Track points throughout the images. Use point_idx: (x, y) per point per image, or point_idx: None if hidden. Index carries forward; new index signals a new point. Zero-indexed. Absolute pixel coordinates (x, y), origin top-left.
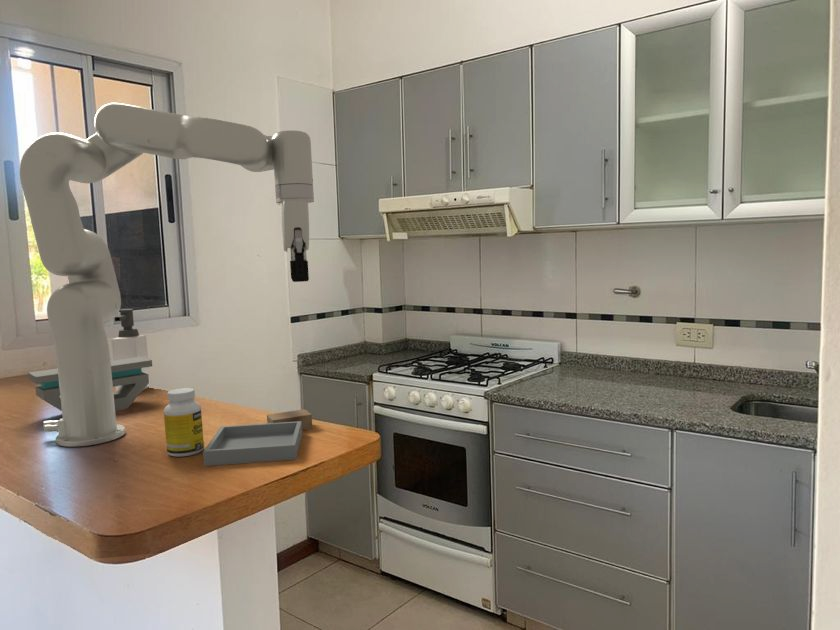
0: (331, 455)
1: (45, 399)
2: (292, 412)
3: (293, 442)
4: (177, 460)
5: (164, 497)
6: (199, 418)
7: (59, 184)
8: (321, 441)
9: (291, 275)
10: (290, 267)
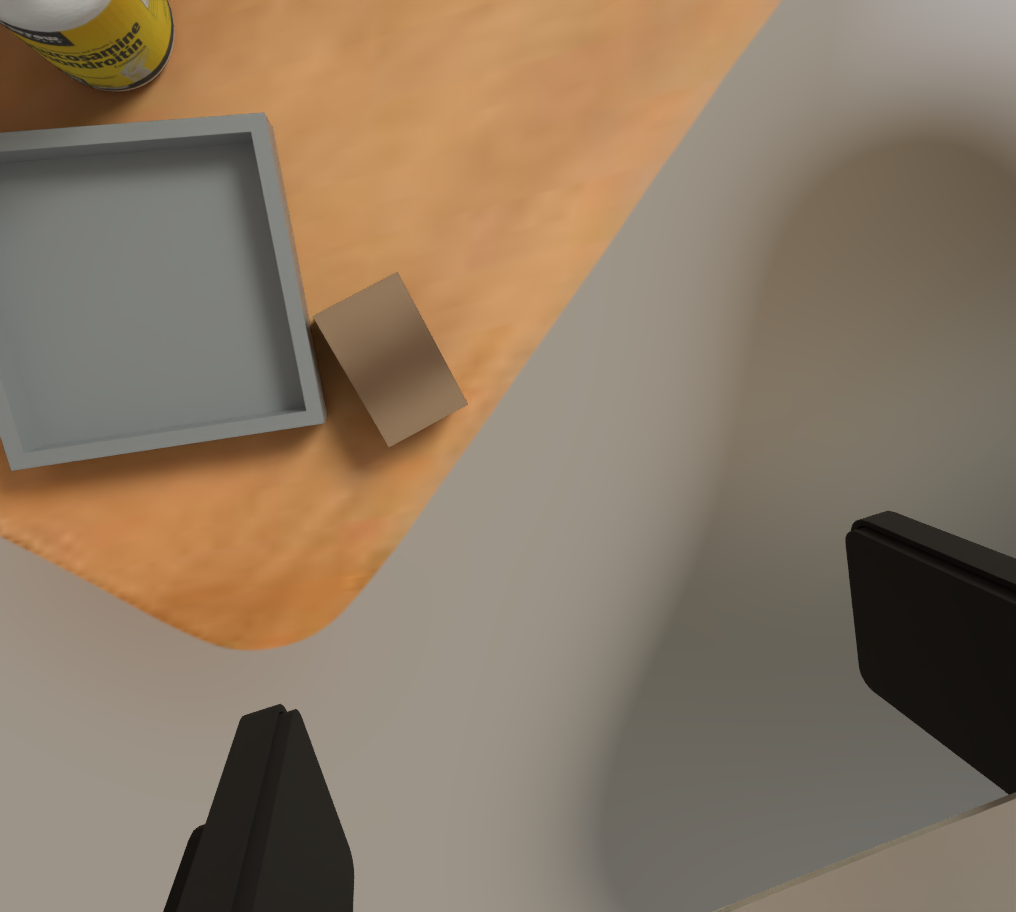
0: (86, 561)
1: None
2: (422, 368)
3: (42, 458)
4: None
5: None
6: (44, 43)
7: None
8: (238, 498)
9: (892, 535)
10: (986, 573)
